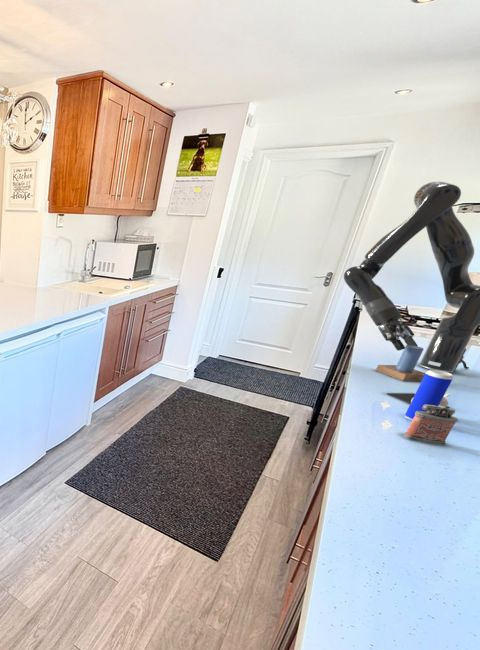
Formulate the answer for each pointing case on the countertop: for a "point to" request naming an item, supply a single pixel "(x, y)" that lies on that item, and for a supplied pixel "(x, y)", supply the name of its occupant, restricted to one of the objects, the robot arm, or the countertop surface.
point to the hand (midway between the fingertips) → (408, 348)
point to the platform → (400, 373)
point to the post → (409, 358)
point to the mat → (404, 397)
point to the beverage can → (429, 391)
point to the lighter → (431, 424)
